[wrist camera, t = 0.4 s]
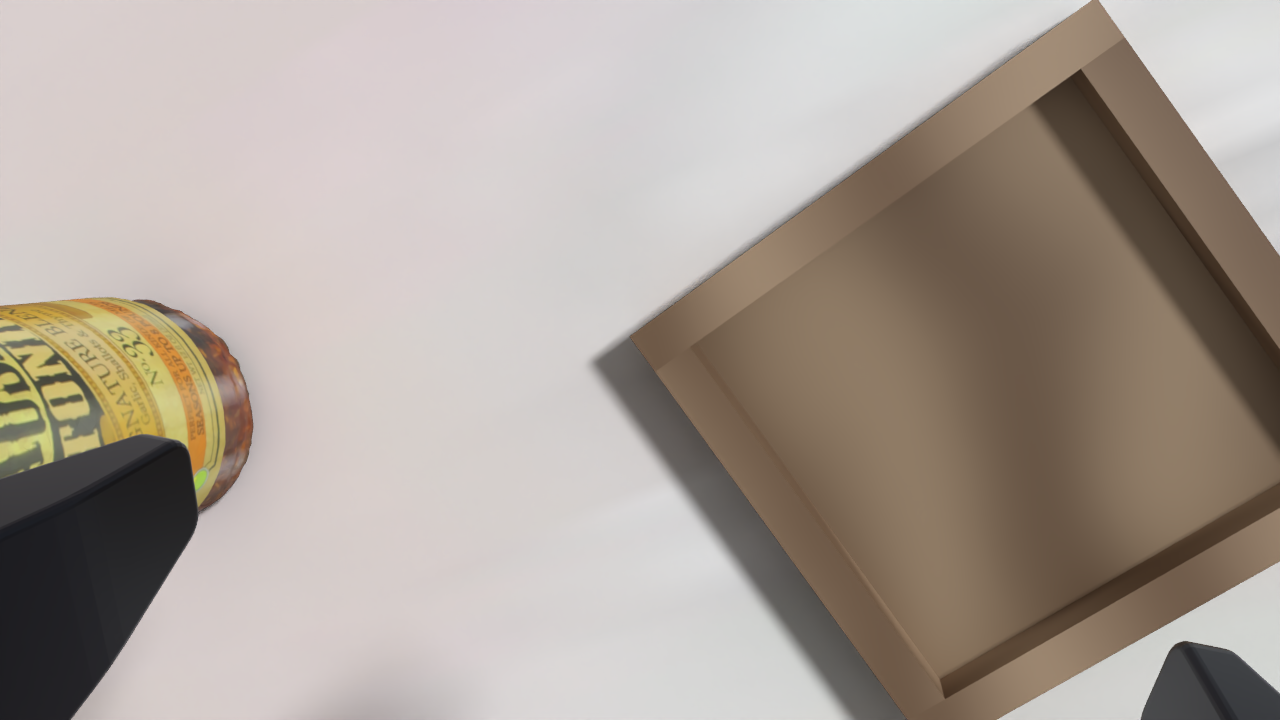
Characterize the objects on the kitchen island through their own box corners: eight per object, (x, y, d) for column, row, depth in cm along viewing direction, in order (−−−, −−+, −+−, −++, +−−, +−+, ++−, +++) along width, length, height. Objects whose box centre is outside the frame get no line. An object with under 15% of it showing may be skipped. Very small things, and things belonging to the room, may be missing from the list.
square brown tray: (926, 722, 25) (932, 754, 23) (640, 328, 25) (629, 336, 23) (1393, 457, 22) (1434, 474, 21) (1077, 11, 22) (1096, -3, 20)
